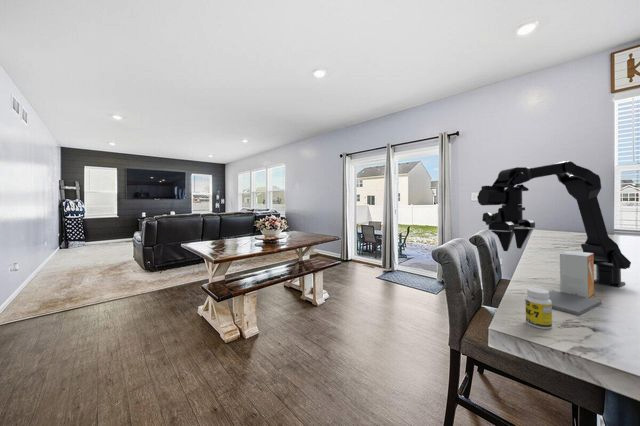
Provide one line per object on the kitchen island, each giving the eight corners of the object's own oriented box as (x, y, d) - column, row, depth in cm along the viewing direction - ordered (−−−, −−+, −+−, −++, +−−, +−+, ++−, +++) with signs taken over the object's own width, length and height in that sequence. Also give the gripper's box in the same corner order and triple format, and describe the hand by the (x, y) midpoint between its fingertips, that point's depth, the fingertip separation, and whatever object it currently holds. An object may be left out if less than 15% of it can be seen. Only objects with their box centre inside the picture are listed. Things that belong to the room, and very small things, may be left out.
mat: (552, 292, 81) (552, 290, 81) (601, 303, 71) (601, 300, 71) (528, 301, 74) (528, 299, 74) (578, 315, 64) (578, 312, 64)
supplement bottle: (520, 321, 62) (520, 287, 62) (538, 319, 63) (537, 286, 62) (539, 330, 57) (538, 294, 57) (557, 328, 58) (557, 292, 58)
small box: (588, 299, 74) (587, 256, 74) (559, 294, 79) (558, 253, 79) (594, 294, 78) (594, 252, 78) (567, 289, 84) (566, 250, 83)
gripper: (500, 205, 98) (500, 244, 98) (472, 205, 89) (473, 249, 89) (535, 204, 88) (536, 248, 88) (507, 204, 79) (508, 253, 79)
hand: (512, 249), depth 86 cm, fingers open, 9 cm apart
